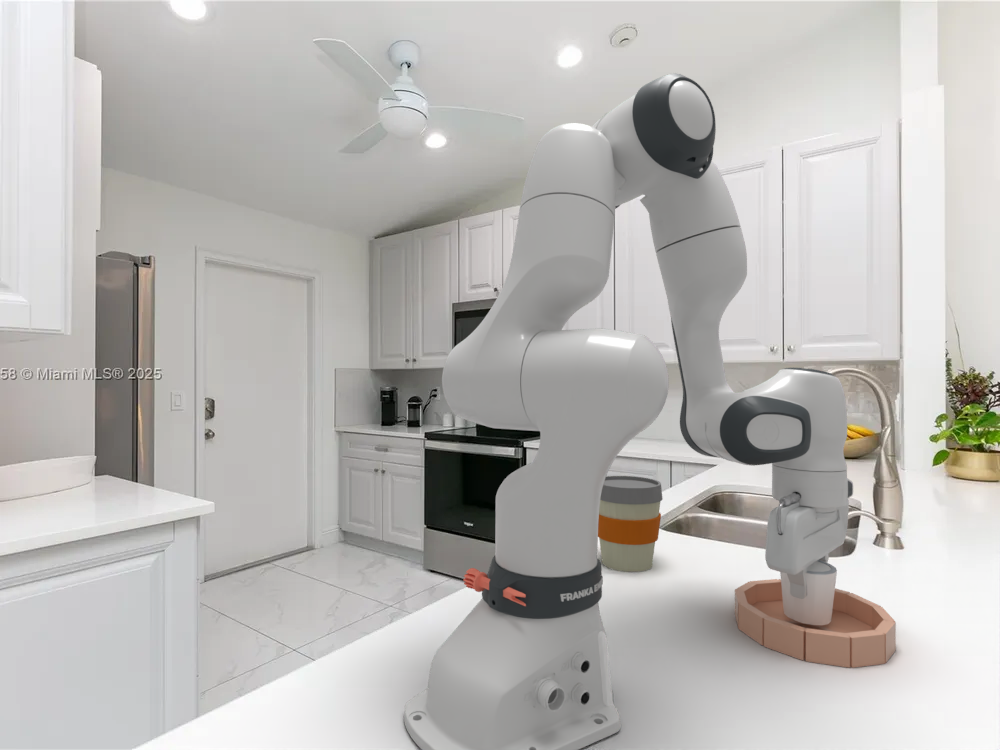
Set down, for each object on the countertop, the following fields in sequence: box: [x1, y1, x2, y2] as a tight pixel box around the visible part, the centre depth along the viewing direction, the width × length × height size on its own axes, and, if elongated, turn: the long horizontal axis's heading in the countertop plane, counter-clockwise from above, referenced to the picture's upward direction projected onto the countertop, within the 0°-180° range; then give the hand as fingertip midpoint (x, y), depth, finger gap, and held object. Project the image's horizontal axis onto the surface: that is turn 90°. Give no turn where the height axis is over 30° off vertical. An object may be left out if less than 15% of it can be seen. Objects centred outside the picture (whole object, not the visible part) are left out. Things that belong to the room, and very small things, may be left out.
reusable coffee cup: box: [598, 475, 663, 573], centre depth 100 cm, size 13×13×15 cm
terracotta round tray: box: [734, 578, 897, 669], centre depth 73 cm, size 18×18×4 cm
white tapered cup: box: [779, 560, 838, 625], centre depth 73 cm, size 7×7×7 cm
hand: (807, 590), depth 73 cm, fingers closed on white tapered cup, 5 cm apart
